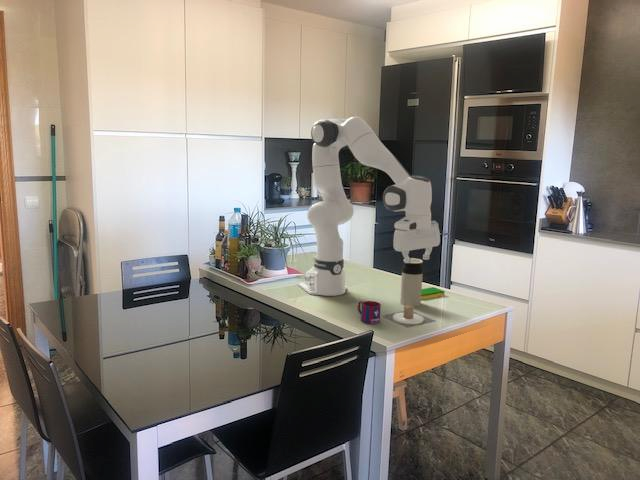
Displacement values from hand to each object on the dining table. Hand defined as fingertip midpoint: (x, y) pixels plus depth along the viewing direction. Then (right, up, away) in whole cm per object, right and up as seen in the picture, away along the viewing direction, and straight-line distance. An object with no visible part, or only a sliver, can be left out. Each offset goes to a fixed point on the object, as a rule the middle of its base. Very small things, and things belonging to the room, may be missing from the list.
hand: (416, 261), depth 184 cm
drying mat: (-2, -21, +4) cm, 22 cm away
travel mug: (+1, -18, +22) cm, 29 cm away
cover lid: (-3, -21, +3) cm, 22 cm away
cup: (-17, -22, +2) cm, 28 cm away
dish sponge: (+11, -17, +35) cm, 40 cm away
